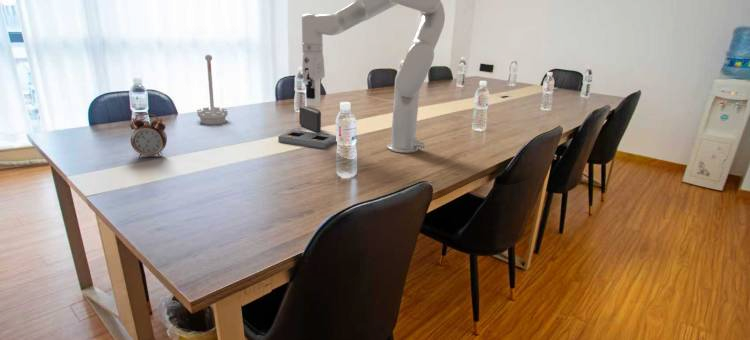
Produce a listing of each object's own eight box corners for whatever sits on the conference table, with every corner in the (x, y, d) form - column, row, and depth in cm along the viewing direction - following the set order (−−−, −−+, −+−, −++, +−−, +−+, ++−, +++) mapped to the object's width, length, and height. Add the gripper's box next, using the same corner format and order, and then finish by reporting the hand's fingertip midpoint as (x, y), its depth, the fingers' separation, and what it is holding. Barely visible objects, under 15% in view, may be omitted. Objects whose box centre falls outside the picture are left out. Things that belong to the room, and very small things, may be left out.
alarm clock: (132, 159, 144) (125, 115, 139) (135, 154, 148) (129, 112, 143) (167, 158, 147) (162, 114, 142) (170, 153, 151) (165, 111, 146)
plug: (320, 104, 170) (320, 75, 166) (315, 106, 166) (315, 76, 162) (309, 103, 171) (308, 74, 168) (304, 105, 168) (303, 75, 164)
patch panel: (336, 141, 177) (336, 135, 176) (324, 149, 166) (324, 142, 165) (293, 135, 183) (293, 129, 182) (278, 142, 172) (278, 135, 171)
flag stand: (196, 118, 202) (191, 52, 192) (226, 117, 207) (222, 53, 197) (199, 125, 191) (193, 55, 181) (229, 123, 196) (225, 56, 186)
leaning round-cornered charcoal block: (326, 132, 190) (326, 111, 187) (317, 133, 188) (317, 112, 184) (307, 124, 202) (307, 104, 199) (298, 125, 199) (298, 105, 196)
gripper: (311, 50, 153) (312, 101, 159) (331, 48, 168) (331, 95, 174) (292, 49, 155) (294, 100, 161) (313, 47, 170) (314, 93, 176)
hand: (313, 96), depth 168 cm, fingers closed on plug, 4 cm apart
